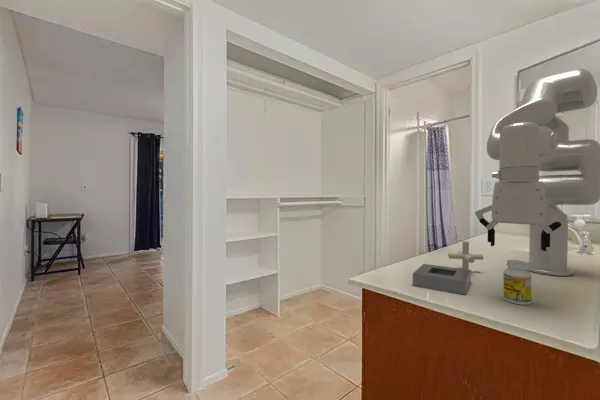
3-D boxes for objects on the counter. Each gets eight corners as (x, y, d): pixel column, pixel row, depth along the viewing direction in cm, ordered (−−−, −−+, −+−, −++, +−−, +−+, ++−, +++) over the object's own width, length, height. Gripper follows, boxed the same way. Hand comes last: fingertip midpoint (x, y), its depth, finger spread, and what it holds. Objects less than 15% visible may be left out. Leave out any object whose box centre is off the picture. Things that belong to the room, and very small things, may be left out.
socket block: (423, 274, 91) (423, 263, 91) (470, 281, 83) (470, 270, 83) (412, 285, 80) (412, 273, 80) (465, 295, 72) (465, 281, 72)
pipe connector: (489, 276, 88) (489, 244, 88) (454, 275, 90) (454, 243, 90) (475, 268, 98) (476, 239, 97) (444, 267, 100) (444, 238, 99)
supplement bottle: (536, 303, 67) (536, 262, 67) (523, 307, 65) (523, 265, 64) (511, 295, 72) (511, 258, 72) (498, 299, 70) (498, 260, 69)
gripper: (474, 176, 69) (473, 245, 70) (571, 173, 59) (569, 255, 59) (476, 178, 76) (475, 242, 76) (564, 176, 65) (563, 249, 66)
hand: (516, 247), depth 68 cm, fingers open, 9 cm apart
